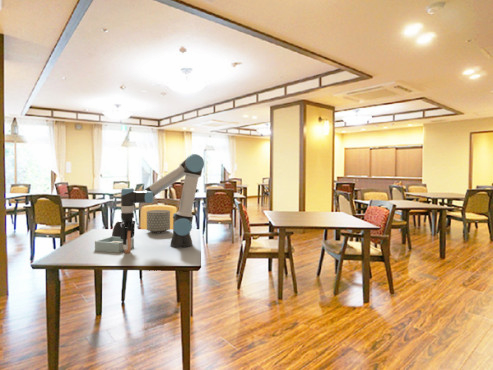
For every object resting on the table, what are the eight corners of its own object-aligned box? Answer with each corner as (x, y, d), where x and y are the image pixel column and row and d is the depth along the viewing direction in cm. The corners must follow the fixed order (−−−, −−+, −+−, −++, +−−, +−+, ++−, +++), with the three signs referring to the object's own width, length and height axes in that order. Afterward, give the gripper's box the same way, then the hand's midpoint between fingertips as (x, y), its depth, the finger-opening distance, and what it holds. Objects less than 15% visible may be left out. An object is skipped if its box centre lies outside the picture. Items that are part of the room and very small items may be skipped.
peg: (131, 252, 197) (131, 230, 196) (128, 253, 193) (128, 231, 192) (126, 251, 197) (126, 230, 197) (123, 253, 194) (123, 231, 193)
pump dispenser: (121, 244, 217) (121, 222, 216) (108, 243, 219) (108, 222, 218) (130, 240, 227) (130, 220, 226) (117, 240, 229) (117, 219, 228)
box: (133, 246, 210) (133, 238, 210) (118, 252, 195) (118, 243, 194) (111, 244, 214) (111, 236, 214) (94, 250, 199) (94, 241, 199)
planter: (164, 229, 272) (164, 209, 271) (173, 233, 257) (173, 211, 257) (143, 231, 260) (143, 210, 259) (152, 235, 245) (152, 213, 245)
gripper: (130, 210, 203) (130, 245, 204) (113, 213, 187) (113, 251, 188) (140, 210, 201) (140, 246, 202) (124, 214, 185) (124, 252, 186)
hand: (127, 248), depth 195 cm, fingers closed on peg, 3 cm apart
